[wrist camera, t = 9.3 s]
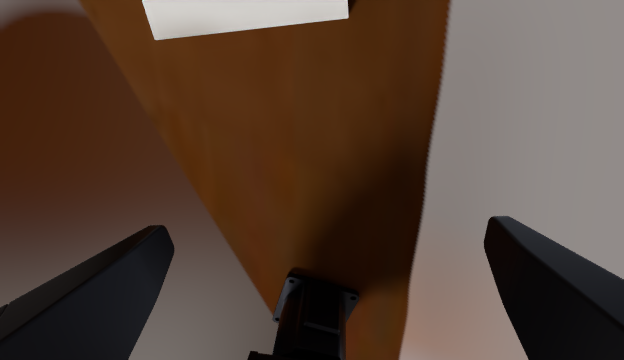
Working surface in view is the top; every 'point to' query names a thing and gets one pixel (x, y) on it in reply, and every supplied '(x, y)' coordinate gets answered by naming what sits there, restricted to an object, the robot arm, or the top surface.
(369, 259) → the top surface
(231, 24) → the white block
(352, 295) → the robot arm
